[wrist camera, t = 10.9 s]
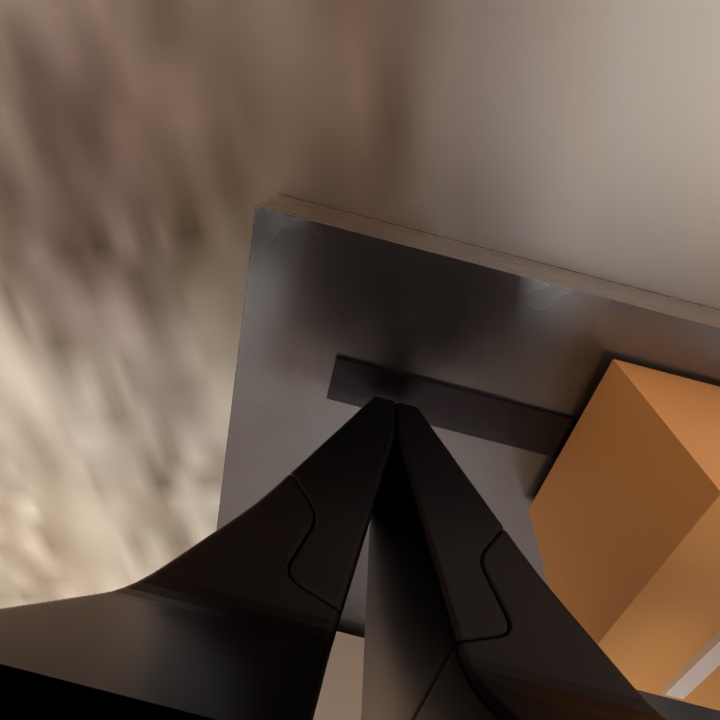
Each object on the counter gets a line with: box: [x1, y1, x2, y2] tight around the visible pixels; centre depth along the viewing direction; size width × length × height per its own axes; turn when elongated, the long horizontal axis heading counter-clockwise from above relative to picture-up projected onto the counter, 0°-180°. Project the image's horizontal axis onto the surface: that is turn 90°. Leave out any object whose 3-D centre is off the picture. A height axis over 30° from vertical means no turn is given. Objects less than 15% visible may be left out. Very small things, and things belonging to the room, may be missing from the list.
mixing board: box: [217, 194, 720, 720], centre depth 13 cm, size 22×16×2 cm
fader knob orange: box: [528, 359, 720, 711], centre depth 8 cm, size 3×4×4 cm
